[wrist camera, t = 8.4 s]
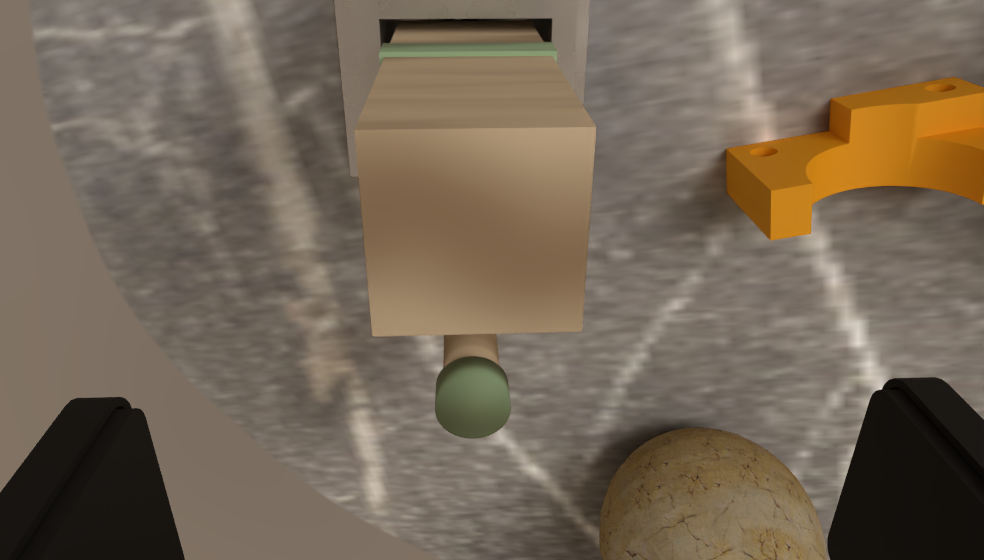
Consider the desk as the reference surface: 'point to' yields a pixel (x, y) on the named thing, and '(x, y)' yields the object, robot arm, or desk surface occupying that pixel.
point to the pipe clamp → (865, 153)
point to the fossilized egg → (707, 503)
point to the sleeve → (383, 3)
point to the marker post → (472, 387)
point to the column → (474, 183)
